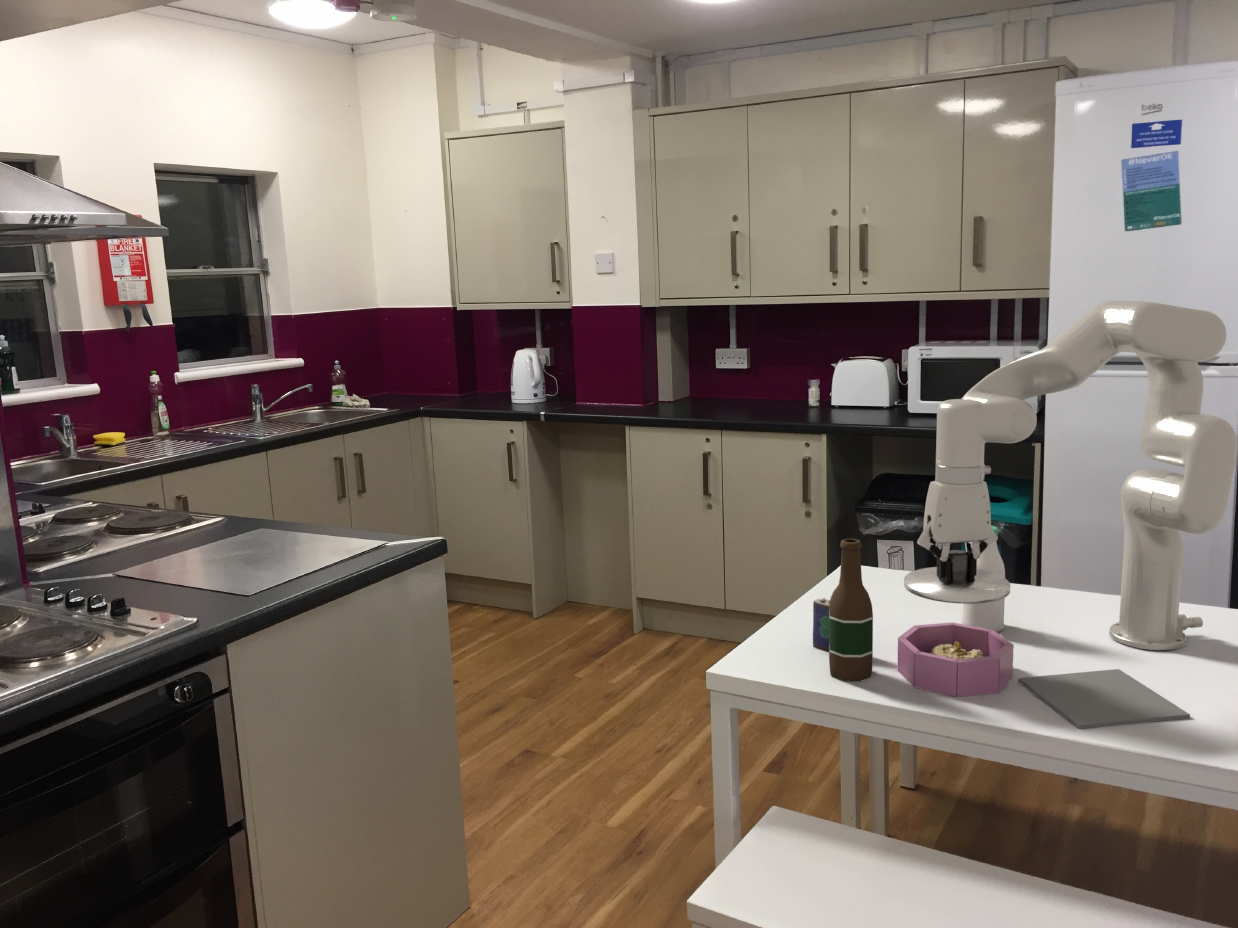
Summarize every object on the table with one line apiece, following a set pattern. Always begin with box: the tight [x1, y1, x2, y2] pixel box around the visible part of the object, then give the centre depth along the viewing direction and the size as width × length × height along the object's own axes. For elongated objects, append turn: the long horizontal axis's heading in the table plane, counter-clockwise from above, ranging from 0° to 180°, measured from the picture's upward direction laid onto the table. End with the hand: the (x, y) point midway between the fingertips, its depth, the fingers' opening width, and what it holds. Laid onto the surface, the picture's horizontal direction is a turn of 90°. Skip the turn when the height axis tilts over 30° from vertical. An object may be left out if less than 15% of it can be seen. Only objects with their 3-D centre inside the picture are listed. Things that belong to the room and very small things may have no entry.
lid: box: [903, 549, 1011, 605], centre depth 170 cm, size 17×17×6 cm
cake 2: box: [931, 642, 984, 659], centre depth 175 cm, size 10×10×5 cm
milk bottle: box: [960, 525, 1006, 633], centre depth 193 cm, size 8×8×20 cm
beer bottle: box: [828, 538, 874, 683], centre depth 173 cm, size 8×8×24 cm
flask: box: [812, 594, 832, 653], centre depth 185 cm, size 9×3×11 cm, turn 50°
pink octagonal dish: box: [897, 622, 1015, 698], centre depth 173 cm, size 17×17×6 cm
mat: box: [1017, 668, 1191, 730], centre depth 162 cm, size 18×18×1 cm
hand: (956, 579), depth 170 cm, fingers closed on lid, 3 cm apart
